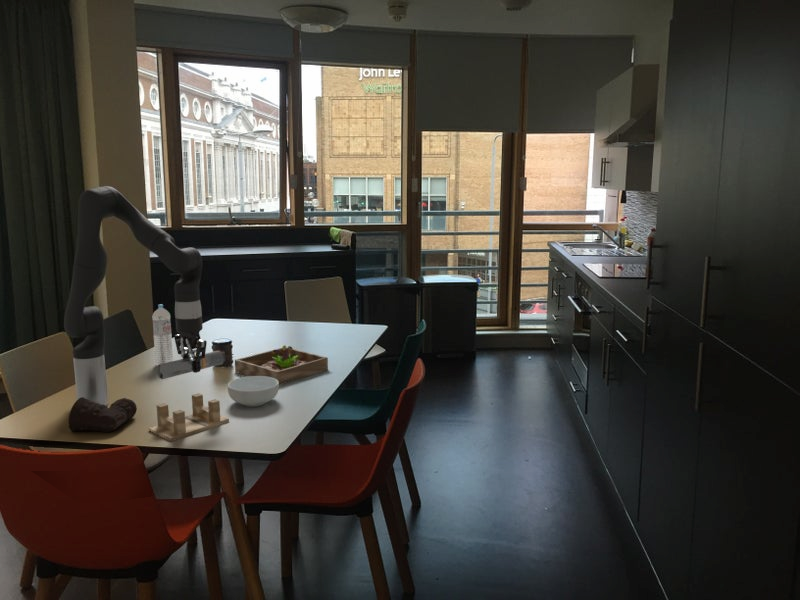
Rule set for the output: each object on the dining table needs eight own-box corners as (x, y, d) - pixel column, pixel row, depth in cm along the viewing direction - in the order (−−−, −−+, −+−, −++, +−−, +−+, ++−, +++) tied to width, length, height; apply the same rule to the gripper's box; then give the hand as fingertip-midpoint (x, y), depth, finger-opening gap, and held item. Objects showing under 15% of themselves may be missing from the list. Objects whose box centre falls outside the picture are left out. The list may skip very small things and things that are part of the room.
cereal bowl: (255, 415, 206) (255, 393, 205) (217, 406, 214) (216, 385, 213) (289, 399, 220) (288, 379, 219) (252, 391, 228) (251, 372, 227)
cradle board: (148, 431, 192) (147, 407, 191) (206, 412, 208) (205, 390, 206) (170, 441, 185) (169, 416, 183) (229, 421, 200) (227, 398, 199)
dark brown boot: (139, 394, 203) (91, 386, 201) (120, 414, 188) (68, 406, 187) (136, 422, 205) (89, 415, 204) (118, 444, 190) (66, 436, 189)
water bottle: (159, 368, 256) (154, 307, 252) (153, 364, 261) (148, 304, 257) (176, 365, 260) (172, 304, 256) (169, 361, 266) (166, 302, 261)
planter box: (235, 372, 251) (234, 359, 250) (285, 358, 271) (285, 346, 270) (277, 385, 235) (277, 372, 235) (327, 369, 255) (327, 357, 254)
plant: (253, 379, 244) (252, 350, 242) (266, 364, 263) (265, 338, 261) (305, 379, 243) (305, 351, 241) (315, 365, 263) (314, 338, 260)
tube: (165, 381, 186) (165, 366, 185) (157, 376, 188) (156, 362, 187) (223, 366, 201) (223, 352, 200) (215, 362, 204) (215, 348, 202)
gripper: (164, 314, 193) (167, 369, 196) (191, 320, 184) (194, 377, 187) (186, 310, 199) (189, 363, 202) (213, 316, 190) (216, 372, 193)
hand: (192, 370), depth 194 cm, fingers closed on tube, 4 cm apart
